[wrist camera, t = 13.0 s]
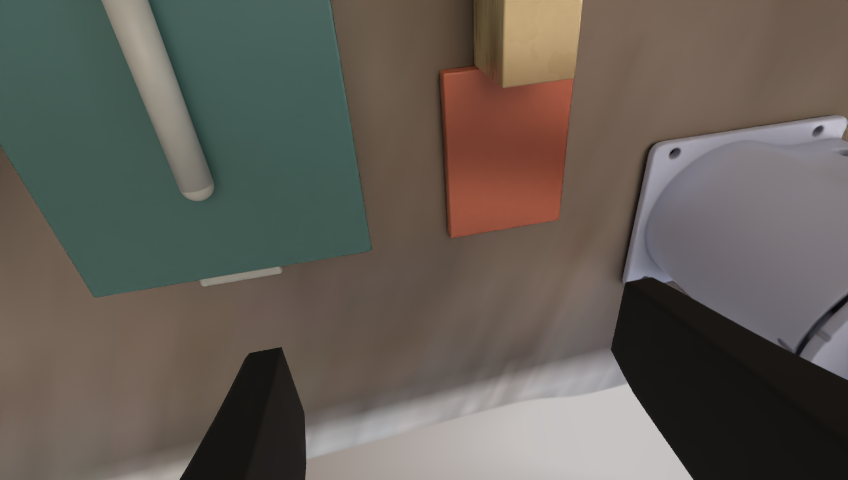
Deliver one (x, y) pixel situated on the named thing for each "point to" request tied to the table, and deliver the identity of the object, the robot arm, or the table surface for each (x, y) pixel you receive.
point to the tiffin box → (182, 136)
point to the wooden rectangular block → (510, 115)
